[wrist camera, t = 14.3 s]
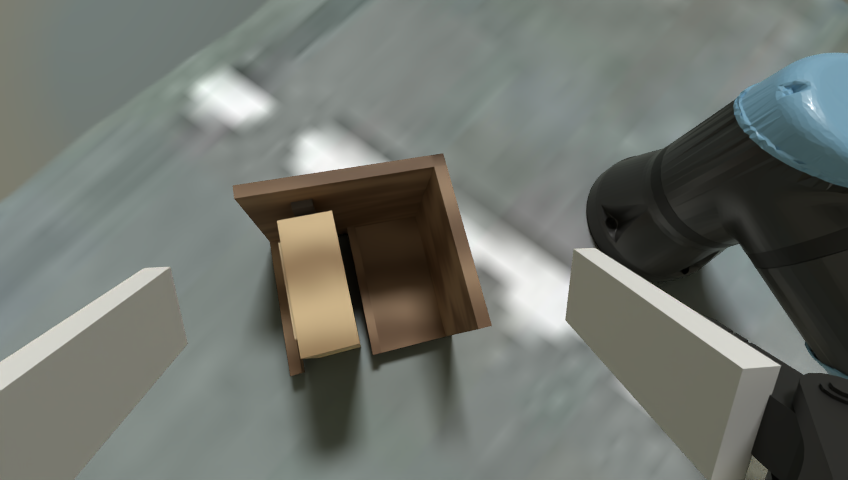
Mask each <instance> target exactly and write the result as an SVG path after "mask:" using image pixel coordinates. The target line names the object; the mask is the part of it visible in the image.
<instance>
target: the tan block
mask: <svg viewBox="0 0 848 480" xmlns="http://www.w3.org/2000/svg"><path fill="white" fill-rule="evenodd" d="M277 224H278V230H279V236H280V243H278V244H279V250H280V256H281V262H282V268H283V274H284V279H285V285H286V291H287V297H288V303H289V309H290V315H291V320H292V326H293V332H294V338H295V340H298V346H299V352H300V358H301V359H307V358H321V357H324V356H328V355H332V354H336V353H340V352H344V351H347V350H351V349H355V348H359V347H361V345H360V340H359V336H358V331H357V326H356V321H355V317H354V312H353V307H352V302H351V298H350V293H349V288H348V283H347V279H346V274H345V269H344V264H343V260H342V255H341V250H340V245H339V241H338V236H337V232H336V227H335V223H334V218H333V213H332V211H327V212H321V213H316V214H311V215H305V216H300V217H294V218H289V219H284V220H278V221H277Z"/></svg>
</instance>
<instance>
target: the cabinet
mask: <svg viewBox="0 0 848 480" xmlns="http://www.w3.org/2000/svg"><path fill="white" fill-rule="evenodd" d="M233 192H234V199H235V200H236V201H237V202H238V204H239V205H240V206H241V207H242V208H243V210H244V211H245V212H246V213H247V215H248V216H249V217H250V218H251V219H252V221H253V222H254V223H255V224H256V225H257V227H258V228H259V229H260V230H261V232H262V233H263V234H264V235H265V236H266V238H267V239H268V240H269V241H270V246H271V253H272V259H273V266H274V272H275V279H276V285H277V292H278V299H279V305H280V312H281V318H282V325H283V331H284V338H285V344H286V351H287V358H288V364H289V371H290V376H293V375H296V374H300V373H304V372H305V370H304V363H303V359H301V358H300V352H299V346H298V340H295V338H294V332H293V326H292V320H291V315H290V309H289V303H288V297H287V291H286V285H285V279H284V274H283V268H282V262H281V256H280V250H279V244H278V243H280V236H279V230H278V224H277V221H278V220H284V219H289V218H294V217H300V216H305V215H311V214H316V213H321V212H327V211H332V213H333V218H334V223H335V227H336V232H337V235H341V234H347V233H348V237H349V242H350V247H351V252H352V256H353V261H354V266H355V271H356V276H357V281H358V286H359V291H360V296H361V300H362V305H363V310H364V315H365V320H366V325H367V330H368V335H369V340H370V344H371V349H372V354H373V355H375V354H379V353H383V352H387V351H391V350H394V349H398V348H402V347H406V346H410V345H414V344H418V343H422V342H426V341H430V340H434V339H438V338H442V337H445V336H450V335H454V334H459V333H463V332H467V331H472V330H476V329H480V328H484V327H488V326H492V325H491V321H490V318H489V314H488V311H487V307H486V304H485V300H484V297H483V293H482V289H481V286H480V282H479V279H478V275H477V272H476V268H475V265H474V261H473V258H472V254H471V250H470V247H469V243H468V240H467V236H466V233H465V229H464V226H463V222H462V219H461V215H460V212H459V208H458V204H457V201H456V197H455V194H454V190H453V187H452V183H451V180H450V176H449V173H448V169H447V165H446V162H445V158H444V155H443V154H436V155H430V156H423V157H417V158H410V159H404V160H397V161H391V162H384V163H378V164H371V165H364V166H358V167H351V168H345V169H338V170H332V171H325V172H319V173H312V174H305V175H299V176H292V177H286V178H279V179H273V180H266V181H260V182H253V183H247V184H240V185H233Z"/></svg>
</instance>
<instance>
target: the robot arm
mask: <svg viewBox="0 0 848 480" xmlns="http://www.w3.org/2000/svg"><path fill="white" fill-rule="evenodd" d="M587 217H588V223H589V227H590V230H591V233H592V235H593V237H594V239H595V241H596V243H597V245H598V247H599V248H600V250H601V251H602V252H603V253H602V252H601V251H599V250H597V249H596V248H583V249H574V251H573V259H572V268H571V276H570V285H569V293H568V302H567V311H566V319H565V320H566V321H567V322H568V324H569V325H570V326H571V327H572V328H573V329H574V330H575V331H576V333H577V334H578V335H579V336H580V337H581V338H582V339H583V340H584V342H585V343H586V344H587V345H588V346H589V347H590V348H591V349H592V351H593V352H594V353H595V354H596V355H597V356H598V357H599V358H600V360H601V361H602V362H603V363H604V364H605V365H606V366H607V367H608V369H609V370H610V371H611V372H612V373H613V374H614V375H615V376H616V378H617V379H618V380H619V381H620V382H621V383H622V384H623V385H624V387H625V388H626V389H627V390H628V391H629V392H630V393H631V395H632V396H633V397H634V398H635V399H636V400H637V401H638V402H639V404H640V405H641V406H642V407H643V408H644V409H645V410H646V411H647V413H648V414H649V415H650V416H651V417H652V418H653V419H654V420H655V422H656V423H657V424H658V425H659V426H660V427H661V428H662V429H663V431H664V432H665V433H666V434H667V435H668V436H669V437H670V438H671V440H672V441H673V442H674V443H675V444H676V445H677V446H678V447H679V449H680V450H681V451H682V452H683V453H684V454H685V455H686V456H687V458H688V459H689V460H690V461H691V462H692V463H693V464H694V465H695V467H696V468H697V469H698V470H699V471H700V472H701V473H702V475H703V476H704V477H705V478H706V479H707V480H742V479H745V476H746V472H747V469H748V466H749V463H750V460H751V457H752V455H753V456H754V457H755V458H756V459H757V460H758V461H759V462H760V463H761V464H762V465H764V466H765V467H766V468H767V469H768V472H767V475H766V478H765V480H848V53H824V54H817V55H813V56H809V57H805V58H803V59H800V60H798V61H795V62H793V63H791V64H789V65H788V66H786V67H785V68H783V69H781V70H780V71H778V72H776V73H775V74H773V75H772V76H770V77H768V78H767V79H765V80H763V81H762V82H760V83H757V84H754V85H752V86H750V87H748V88H747V89H745V90H744V91H742V92H741V93H740V95H739V96H738V97H737V98H736V99H735V100H734V101H732V102H731V103H729V104H728V105H726V106H725V107H724V108H722V109H721V110H719V111H718V112H716V113H715V114H713V115H712V116H711V117H709V118H708V119H706V120H705V121H703V122H702V123H700V124H699V125H698V126H696V127H695V128H693V129H692V130H690V131H689V132H687V133H686V134H684V135H683V136H681V137H680V138H678V139H677V140H676V141H674V142H673V143H671V144H670V145H668V146H667V147H665V148H663V149H660V150H656V151H652V152H649V153H645V154H642V155H639V156H633V157H629V158H626V159H624V160H621V161H619V162H618V163H616V164H615V165H613V166H612V167H610V168H609V169H608V170H606V171H605V172H604V173H603V174H601V175H600V176H599V177H598V179H597V180H596V181H595V183H594V184H593V186H592V188H591V190H590V193H589V197H588V202H587ZM737 244H740V245H741V247H742V248H743V250H744V251H745V253H746V254H747V255H748V257H749V258H750V260H751V261H752V263H753V264H754V266H755V268H756V269H757V271H758V272H759V274H760V275H761V276H762V278H763V279H764V281H765V282H766V284H767V285H768V287H769V288H770V290H771V291H772V293H773V294H774V296H775V297H776V299H777V300H778V302H779V303H780V305H781V306H782V308H783V309H784V310H785V312H786V313H787V315H788V316H789V318H790V319H791V321H792V322H793V324H794V325H795V327H796V328H797V330H798V331H799V333H800V334H801V336H802V337H803V339H804V340H805V346H806V348H807V350H808V352H809V353H810V355H811V356H812V357H813V359H814V360H815V361H817V362H818V363H819V364H820V365H821V366H822V367H823V368H824V369H825V370H826V372H827V373H828V374H823V373H808V374H805V375H803V374H801V373H800V372H798V371H796V370H795V369H793V368H792V367H790V366H788V365H787V364H785V363H784V362H782V361H780V360H779V359H777V358H776V357H774V356H772V355H771V354H769V353H767V352H766V351H764V350H763V349H761V348H759V347H758V346H756V345H755V344H753V343H748V340H747V339H745V338H743V337H742V336H740V335H738V334H737V333H733V331H732V330H730V329H729V328H727V327H726V326H724V325H722V324H721V323H719V322H718V321H716V320H714V319H712V318H709V317H707V316H704V315H702V314H699V313H697V312H695V311H694V310H692V309H691V308H689V307H687V306H686V305H684V304H683V303H681V302H680V301H678V300H676V299H675V298H673V297H672V296H670V295H668V294H667V293H665V292H664V291H662V290H661V289H659V288H657V287H656V286H654V285H653V284H651V283H650V282H648V281H651V282H664V281H670V280H674V279H678V278H682V277H685V276H688V275H690V274H692V273H694V272H696V271H698V270H699V269H700V268H702V267H703V266H704V265H706V264H707V263H708V262H710V261H711V260H712V259H713V258H715V257H716V256H717V255H719V254H720V253H721V252H723V251H724V250H725V249H726V248H728V247H730V246H733V245H737ZM187 344H188V342H187V338H186V334H185V329H184V325H183V320H182V316H181V312H180V307H179V303H178V299H177V294H176V290H175V285H174V281H173V277H172V272H171V268H170V267H157V268H144V269H142V270H141V271H139V272H137V273H136V274H134V275H133V276H131V277H130V278H128V279H127V280H125V281H124V282H122V283H121V284H119V285H118V286H116V287H115V288H113V289H111V290H110V291H108V292H107V293H105V294H104V295H102V296H101V297H99V298H98V299H96V300H95V301H93V302H92V303H90V304H88V305H87V306H85V307H84V308H82V309H81V310H79V311H78V312H76V313H75V314H73V315H72V316H70V317H69V318H67V319H66V320H64V321H62V322H61V323H59V324H58V325H56V326H55V327H53V328H52V329H50V330H49V331H47V332H46V333H44V334H43V335H41V336H40V337H38V338H36V339H35V340H33V341H32V342H30V343H29V344H27V345H26V346H24V347H23V348H21V349H20V350H18V351H17V352H15V353H14V354H12V355H10V356H9V357H7V358H6V359H4V360H3V361H1V362H0V480H74V479H75V477H76V476H77V475H78V474H79V473H80V471H81V470H82V469H83V468H84V467H85V465H86V464H87V463H88V462H89V461H90V459H91V458H92V457H93V456H94V455H95V454H96V452H97V451H98V450H99V449H100V448H101V446H102V445H103V444H104V443H105V442H106V440H107V439H108V438H109V437H110V436H111V434H112V433H113V432H114V431H115V430H116V429H117V427H118V426H119V425H120V424H121V423H122V421H123V420H124V419H125V418H126V417H127V415H128V414H129V413H130V412H131V411H132V409H133V408H134V407H135V406H136V405H137V404H138V402H139V401H140V400H141V399H142V398H143V396H144V395H145V394H146V393H147V392H148V390H149V389H150V388H151V387H152V386H153V384H154V383H155V382H156V381H157V380H158V379H159V377H160V376H161V375H162V374H163V373H164V371H165V370H166V369H167V368H168V367H169V365H170V364H171V363H172V362H173V361H174V359H175V358H176V357H177V356H178V355H179V354H180V352H181V351H182V350H183V349H184V348H185V346H186V345H187Z"/></svg>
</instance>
